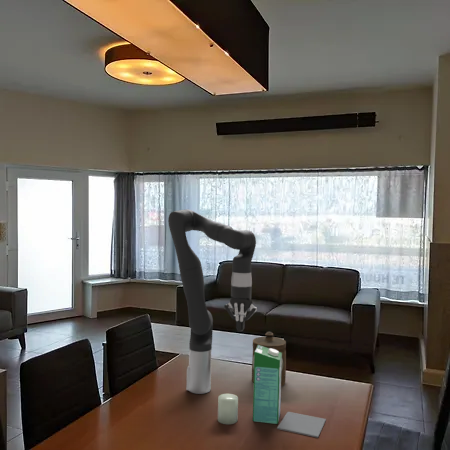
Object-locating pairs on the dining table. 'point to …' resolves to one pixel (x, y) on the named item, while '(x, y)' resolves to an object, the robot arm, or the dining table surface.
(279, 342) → the wooden container
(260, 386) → the milk carton
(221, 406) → the pale green rounded cylinder
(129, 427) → the dining table surface
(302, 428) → the display mat
